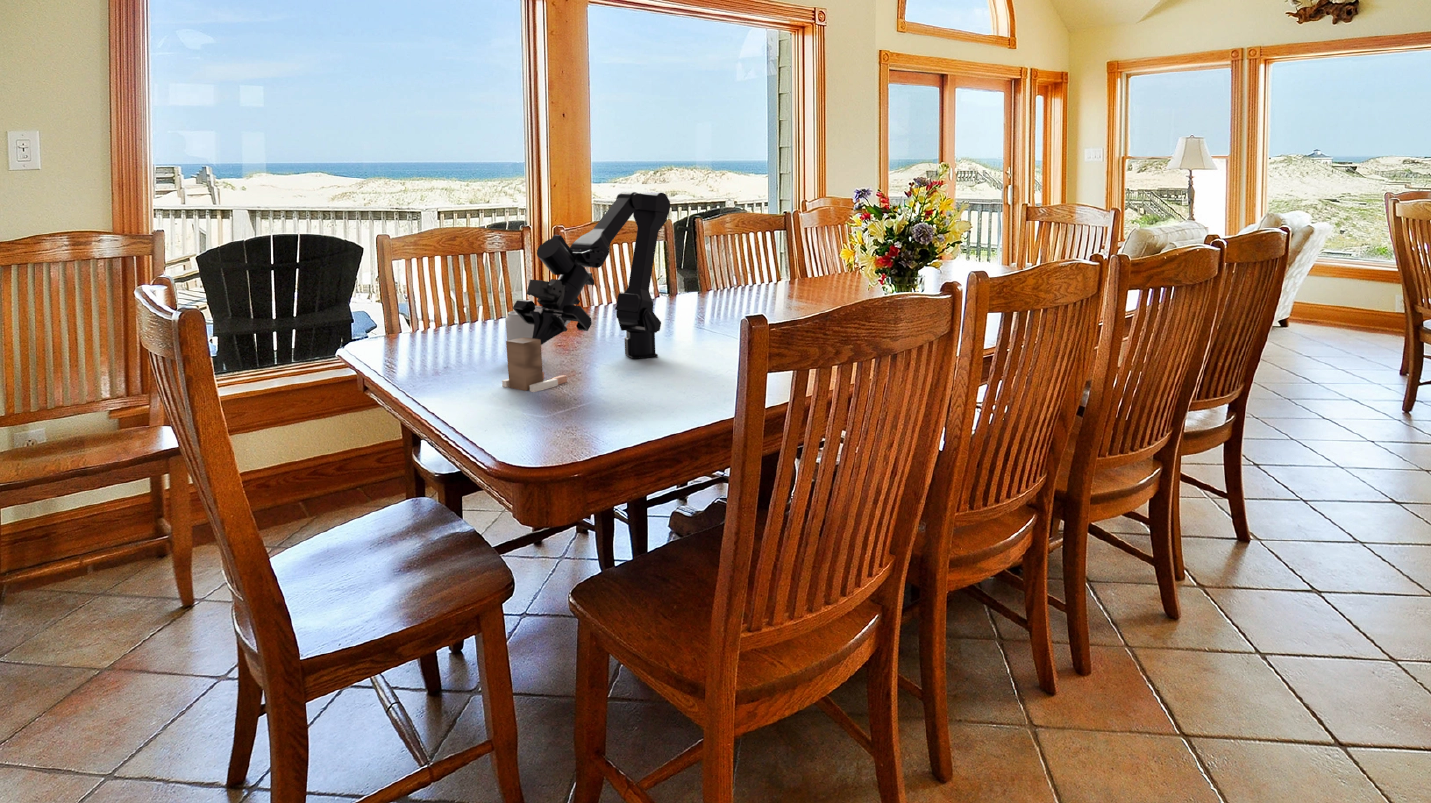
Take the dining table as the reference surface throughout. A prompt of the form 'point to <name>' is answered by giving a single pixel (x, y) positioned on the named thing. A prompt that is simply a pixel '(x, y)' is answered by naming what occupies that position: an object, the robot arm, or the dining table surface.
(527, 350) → the block
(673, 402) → the dining table surface
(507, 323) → the can
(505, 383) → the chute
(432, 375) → the dining table surface
